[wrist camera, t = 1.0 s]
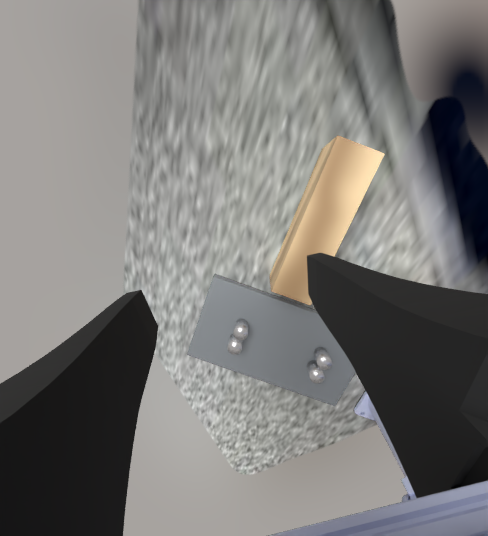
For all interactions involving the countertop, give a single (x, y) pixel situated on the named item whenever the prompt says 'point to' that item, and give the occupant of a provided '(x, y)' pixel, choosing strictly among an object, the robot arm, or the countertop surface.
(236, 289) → the flat gray rectangular plate
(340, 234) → the board
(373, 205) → the countertop surface
